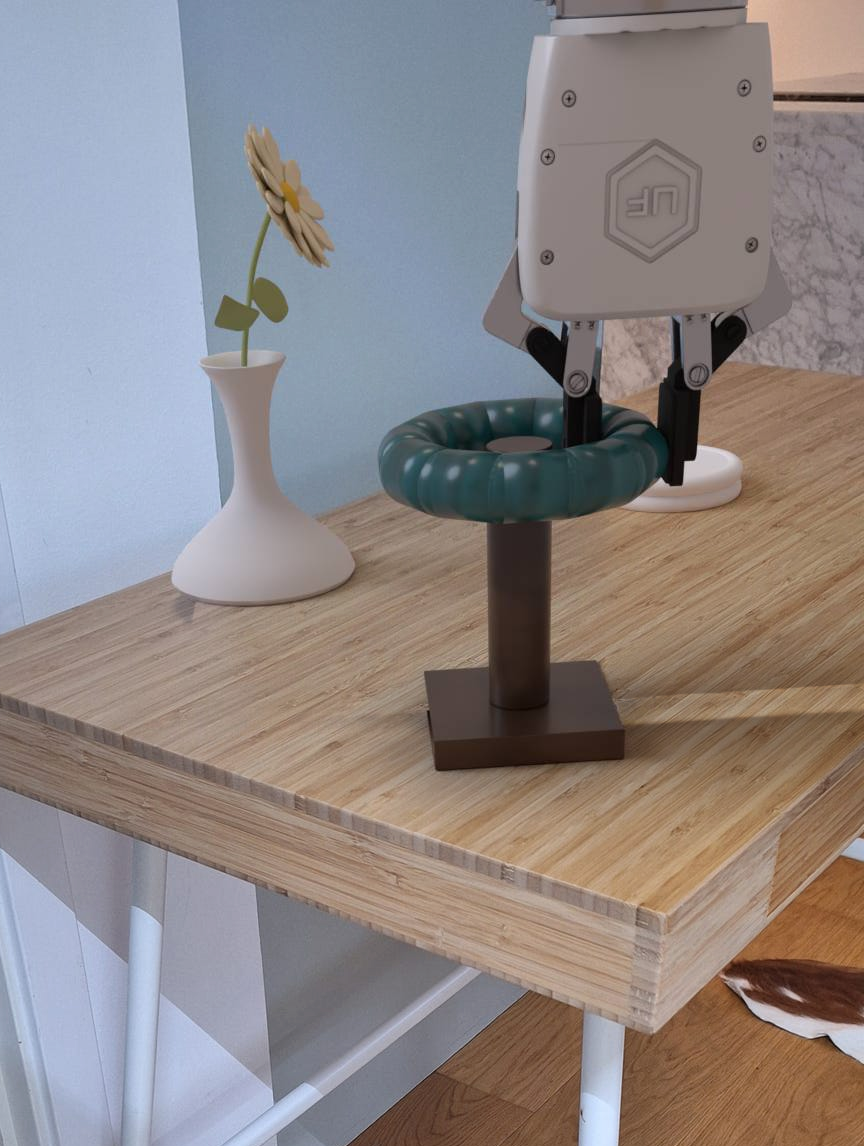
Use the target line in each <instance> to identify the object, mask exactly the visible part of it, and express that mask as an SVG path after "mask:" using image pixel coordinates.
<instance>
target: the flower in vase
mask: <svg viewBox="0 0 864 1146" xmlns="http://www.w3.org/2000/svg"><path fill="white" fill-rule="evenodd" d="M247 128H248V129H247V130H248V132H245V133H244V142H245V145H244V146H243V149H244V153H245V156H246V158H247V161H248V162H247V166H248V169H249V172H250V174H251V176H252V178H253V180H254V181H255V186H256V188H257V190H258V192H259V194H260V197H261V198H262V200H263V201H264V203H266V213H265V215H264V218H263V221H262V223H261V225H260V226H261V227H260V229H259V232H258V236H257V239H256V242H255V245H254V249H253V252H252V256H251V261H250V265H249V272H248V280H247V289H246V296H245V297H246V298H245V304H244V303H241V302H239V301H237V300H235V299H233V298H232V297H230V296H229V295H227V294H223V297H222V299H221V302H220V306H219V308H218V311H217V314H216V316H215V319H214V321H213V324H214V326H215V327H217V328H220V329H225V330H230V331H234V332H242V337H241V350H233V351H226V352H220V353H215V354H211V355H208V356H204V357H203V358H201V359H199V360H198V365H199V367H200V369H202V371H203V372H204V373H205V374H206V376H207V377H208V378H209V380H210V381H211V383H212V384H213V386H214V388H215V390H216V393H217V394H218V396H219V399H220V401H221V404H222V407H223V411H224V413H225V417H226V422H227V426H228V431H229V435H230V442H231V449H232V458H233V486H232V489H231V493H230V496H229V498H228V499H227V500H226V503H225V504H224V506H222V508H220V510H219V511H218V512H217V513H216V514H215V516H213V517H212V518H211V520H209V521H208V522H207V523H206V524H205V525H204V527H202V528H201V529H200V531H198V532H197V534H196V535H195V536H194V537H193V538H192V539H191V540H190V541H189V542H188V543H187V544H186V546H185V547H184V548H183V550H182V552H180V554H179V556H178V557H177V558H176V560H175V562H174V564H173V568H172V572H171V576H170V577H171V583H172V585H173V586H174V587H175V588H176V590H177V591H178V593H180V595H181V596H182V597H183V598H185V599H186V600H188V601H191V602H193V603H197V602H201V603H206V604H212V605H217V606H230V607H231V606H233V607H256V606H257V607H258V606H269V605H278V604H286V603H292V602H298V601H302V600H306V599H310V598H314V597H317V596H320V595H323V594H325V593H328V592H331V591H333V590H335V589H337V588H339V587H340V586H342V585H343V584H345V583H346V582H347V581H348V580H349V579H350V578H351V576H352V575H353V573H354V571H355V568H356V562H355V560H354V557H353V556H352V553H351V551H350V549H349V547H348V546H347V545H346V544H345V543H344V542H343V541H342V540H341V539H340V538H339V537H338V536H337V535H336V534H335V533H334V532H333V531H331V530H330V529H329V528H328V527H326V526H325V525H323V524H322V523H321V522H319V521H318V520H317V519H315V518H314V517H312V516H310V515H309V514H308V513H307V512H306V511H303V510H302V509H301V508H300V507H298V506H297V505H296V504H294V503H293V502H292V501H291V500H290V499H288V498H287V497H286V495H285V494H284V493H283V492H282V491H281V489H280V487H279V485H278V483H277V481H276V477H275V473H274V470H273V462H272V454H271V440H270V439H271V438H270V415H271V414H270V413H271V405H272V403H271V402H272V394H273V391H274V387H275V384H276V383H275V382H276V380H277V377H278V375H279V372H280V370H281V368H282V367H283V365H284V363H285V361H286V359H287V355H286V354H285V353H284V352H281V351H276V350H270V349H269V350H268V349H249V334H250V328H251V327H252V326H253V325H254V324H255V322H256V321H257V319H258V318H259V316H260V314H261V313H262V314H263V316H265V317H266V318H267V319H268V321H271V322H272V323H274V324H278V323H281V322H282V321H284V320H285V318H286V317H287V316H288V313H289V304H288V302H287V299H286V297H285V295H284V292H283V291H282V290H281V288H280V287H279V286H278V285H276V284H275V283H274V282H273V281H271V280H270V279H267V278H266V277H263V276H258V277H257V278H256V279H255V277H256V270H257V266H258V261H259V258H260V254H261V251H262V247H263V245H264V240H265V238H266V234H267V231H268V229H269V226H270V224H271V221H273V222H274V223H275V225H276V226H277V227H278V229H279V231H280V232H281V234H282V235H283V236H284V238H285V239H286V240H287V241H288V242H289V244H290V246H291V247H292V249H293V250H294V252H295V253H296V254H297V255H298V256H299V257H300V258H304V259H305V260H306V262H308V264H309V265H311V266H314V265H315V266H316V267H317V268H319V269H323V266H324V267H326V268H330V262H329V260H328V259H327V257H326V255H325V251H326V250H327V251H329V252H332V253H333V252H335V246H334V244H333V242H332V240H331V239H330V238H329V235H328V232H327V231H326V230H325V228H324V227H323V226H322V225H320V224H319V222H317V221H321V220H322V221H323V220H324V218H325V212H324V210H323V207H321V206H322V205H320V204H319V202H317V201H316V200H315V199H312V196H311V193H310V191H309V189H308V188H307V187H306V186H305V185H304V184H301V182H302V181H301V180H302V172H301V169H300V167H299V164H298V163H297V162H296V160H295V159H293V158H289V159H288V160H287V161H286V162H285V161H283V160H281V155H280V151H279V147H278V144H277V142H276V141H275V139H274V137H273V134H272V132H271V130H270V129H269V128H268V126H266V125H263V127H262V129H261V130H262V131H261V132H262V133H261V134H259V133H258V131H257V128H256V127H255V125H253V124H252V123H249V124H248V127H247ZM253 302H254V303H255V305H256V307H257V309H256V308H254V307H252V303H253ZM258 309H259V310H258Z"/></svg>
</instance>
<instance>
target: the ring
mask: <svg viewBox="0 0 864 1146" xmlns="http://www.w3.org/2000/svg"><path fill="white" fill-rule="evenodd" d="M562 429H563V398H559V397H539V396H537V397H522V398H505V399H491V400H489V399H488V400H478V401H472V402H467V403H462V404H457V405H452V406H448V407H447V406H446V407H443V408H437V409H432V410H428V411H425V412H422V413H420V414H418V415H415V416H414V417H412V418H411V419H408V420H406V421H404V422H402V423H401V424H398V425H397V426H395V427H393V428H391V429H390V430H389V431H388V432H386V434H385V435H384V436H383V438H382V439H381V441H380V444H379V446H378V451H377V463H378V473H379V480H380V484H381V486H382V488H383V490H384V491H385V493H386V494H387V495H388V496H389V498H391V499H392V500H393V501H394V502H396V503H398V504H401V505H403V506H404V507H408V508H411V509H413V510H416V511H418V512H421V513H423V514H426V515H428V516H431V517H433V518H438V519H446V520H455V521H465V522H477V523H486V524H487V523H496V524H507V523H523V522H538V521H552V522H554V521H567V520H572V519H575V518H581V517H584V516H589V515H592V514H597V513H601V512H605V511H608V510H612V509H617V508H618V507H621V506H624V505H626V504H628V503H630V502H632V501H633V500H635V499H636V498H637V497H638V496H640V495H641V494H642V493H644V492H645V491H646V490H648V489H649V488H650V487H651V486H653V485H654V484H655V483H656V482H657V481H658V480H659V479H660V478H661V477H662V475H663V474H664V472H665V470H666V467H667V464H668V458H669V452H668V446H667V443H666V441H665V439H664V437H663V435H662V434H661V433H660V432H659V430H658V429H657V426H656V425H655V423H653V421H652V420H651V419H650V418H649V417H648V416H647V415H646V414H645V413H643V412H641V411H638V410H635V409H631V408H627V407H623V406H619V405H615V404H611V403H607V402H604V401H602V432H601V441H596V442H592V443H587V444H583V445H579V446H574V447H570V448H565V449H562ZM515 436H533V437H541V438H545V439H548V440H550V441H551V442H552V443H553V450H541V451H526V452H510V453H496V452H486V445H487V444H488V443H489V442H491V441H493V440H497V439H500V438H506V437H515Z"/></svg>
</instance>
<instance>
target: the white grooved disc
mask: <svg viewBox="0 0 864 1146" xmlns="http://www.w3.org/2000/svg"><path fill="white" fill-rule="evenodd" d="M743 472H744V465H743V461H742V460H741V459H740V458H739V457H738V456H737V455H736V454H735V453H733V452H731V451H729V450H726V449H722V448H718V447H714V446H708V445H701V444H697V455H696V459H695V461H685V463H684V479H683V485H682V486H672V487H670V486H669V484H666V483H665V482H664V481H663V479H662V478H660V479H659V480H658V481H657V482H656V483H655V484H654V485H653V486H651V487H650V488H649V489H648V490H646V491H645V492H644V493H642V494H641V495H640V496H638V497H637V498H636V499H635V500H633V501H632V502H630V503H628V504H626V505H624V506H621V507H617V508H618V509H622V510H627V511H634V512H643V513H657V514H659V513H661V514H665V513H666V514H667V513H668V514H669V513H673V514H674V513H687V512H688V513H689V512H697V511H704V510H709V509H713V508H714V509H715V508H717V507H720V506H723V505H727V504H728V503H730V502H732V501H734V500H735V499H737V498H738V497H739V495H740V494H741V490H742V488H743V484H742V480H741V477H742V475H743Z"/></svg>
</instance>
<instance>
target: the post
mask: <svg viewBox="0 0 864 1146" xmlns="http://www.w3.org/2000/svg"><path fill="white" fill-rule="evenodd" d="M541 450H553V443H552V442H551V441H550V440H548V439H545V438H541V437H533V436H515V437H506V438H500V439H497V440H493V441H491V442H489V443H488V444H487V445H486V452H496V453H510V452H526V451H541ZM552 542H553V521H538V522H523V523H507V524H496V523H486V562H487V563H486V576H487V577H486V578H487V581H486V582H487V642H488V643H487V645H488V647H487V651H488V653H487V655H488V657H487V659H488V663H487V664H488V666H480V667H478V666H477V667H465V668H464V667H463V668H451V669H450V668H447V669H446V668H445V669H433V670H431V669H430V670H423V678H424V684H425V691H426V698H427V706H428V709H426V715H427V716H426V717H427V721H428V722H427V723H428V730H429V737H430V745H431V750H432V751H431V752H432V758H433V764H434V770H435V771H445V770H461V769H473V768H474V769H475V768H476V769H477V768H478V769H479V768H491V767H508V766H509V767H510V766H525V765H538V764H539V765H540V764H541V765H542V764H556V763H569V762H570V763H571V762H573V763H574V762H587V761H602V760H603V761H604V760H619V759H624V757H625V740H626V739H625V737H626V736H625V735H626V729H625V726H624V724H623V722H622V719H621V716H620V715H619V712H618V710H617V707H616V704H615V703H614V700H613V697H612V695H611V693H610V690H609V687H608V686H607V683H606V680H605V678H604V676H603V674H602V671H601V669H600V666H599V664H598V661H597V659H591V660H590V659H589V660H588V659H587V660H574V661H557V662H556V661H555V662H551V640H552V639H551V633H552V632H551V631H552V630H551V628H552V623H551V622H552V555H553V554H552V552H553V549H552V548H553V547H552V546H553V543H552Z"/></svg>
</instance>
